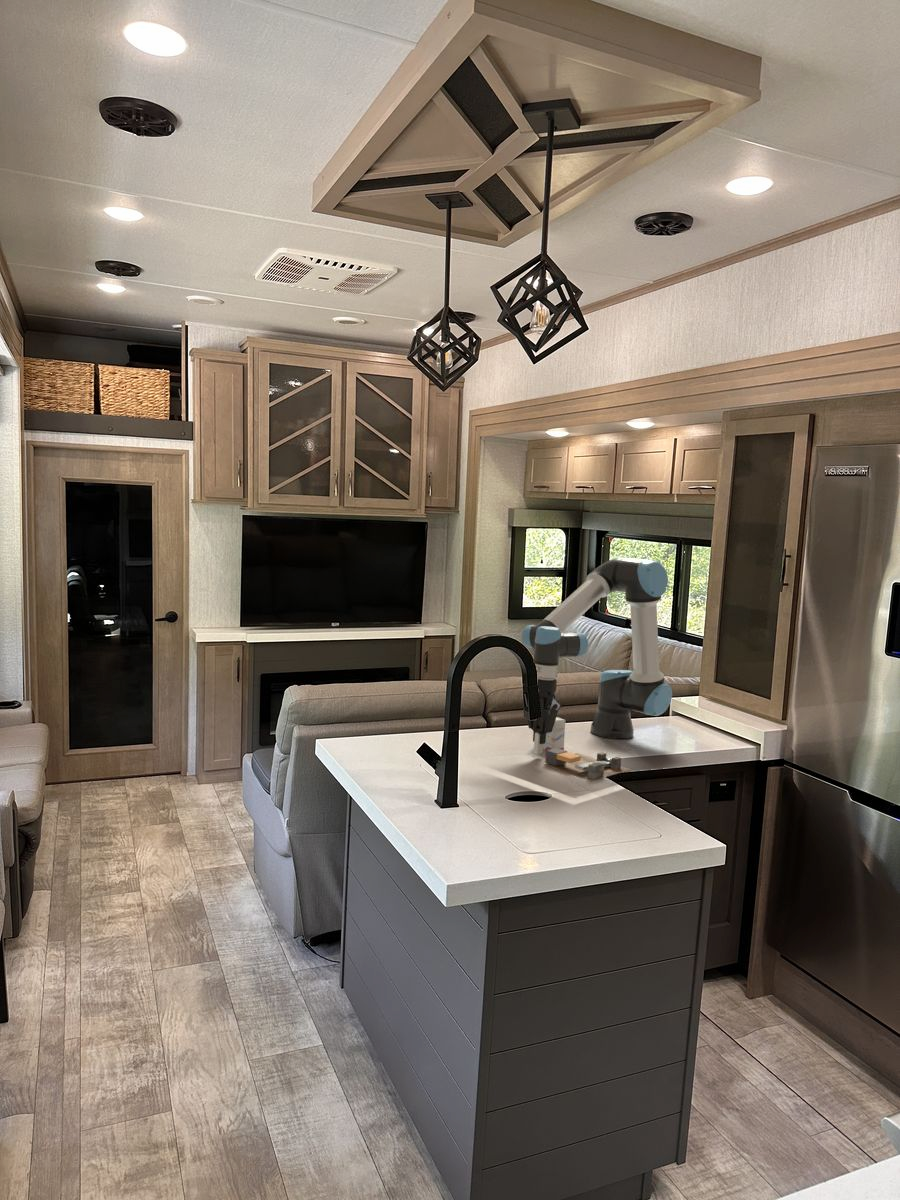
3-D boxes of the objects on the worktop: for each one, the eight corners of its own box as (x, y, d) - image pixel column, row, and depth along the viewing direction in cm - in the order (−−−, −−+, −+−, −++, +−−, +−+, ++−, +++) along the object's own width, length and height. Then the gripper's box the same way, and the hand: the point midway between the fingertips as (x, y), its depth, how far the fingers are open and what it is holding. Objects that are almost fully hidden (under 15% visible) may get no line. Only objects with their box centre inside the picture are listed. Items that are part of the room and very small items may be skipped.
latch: (555, 760, 253) (556, 748, 252) (579, 767, 246) (580, 755, 246) (545, 762, 249) (546, 750, 249) (569, 770, 243) (570, 757, 243)
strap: (605, 763, 253) (606, 757, 253) (614, 766, 251) (614, 760, 251) (574, 768, 242) (575, 762, 242) (583, 771, 240) (583, 764, 240)
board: (576, 757, 264) (578, 741, 263) (630, 774, 250) (631, 757, 249) (536, 767, 250) (538, 750, 249) (591, 785, 236) (592, 767, 235)
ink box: (564, 756, 265) (567, 719, 263) (551, 757, 262) (555, 721, 261) (546, 748, 272) (549, 713, 271) (534, 750, 269) (537, 714, 268)
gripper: (520, 674, 254) (513, 749, 256) (553, 682, 245) (547, 760, 247) (535, 672, 259) (529, 746, 262) (569, 680, 250) (562, 756, 252)
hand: (538, 753), depth 254 cm, fingers closed
